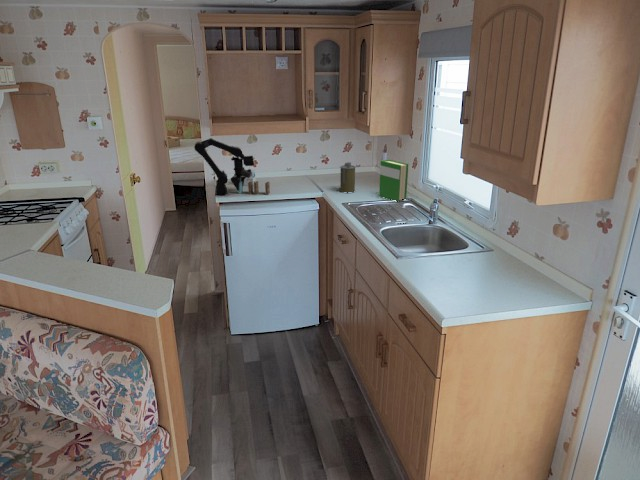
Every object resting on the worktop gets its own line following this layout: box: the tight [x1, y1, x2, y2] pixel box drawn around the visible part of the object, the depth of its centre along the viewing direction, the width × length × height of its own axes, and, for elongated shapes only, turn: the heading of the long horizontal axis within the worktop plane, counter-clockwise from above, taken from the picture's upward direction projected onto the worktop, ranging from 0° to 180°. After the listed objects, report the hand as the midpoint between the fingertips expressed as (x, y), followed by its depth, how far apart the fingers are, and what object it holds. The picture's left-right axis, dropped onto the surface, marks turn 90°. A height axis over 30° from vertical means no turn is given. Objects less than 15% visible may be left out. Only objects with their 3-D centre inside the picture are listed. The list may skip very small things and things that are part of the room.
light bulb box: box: [243, 169, 256, 187], centre depth 339 cm, size 11×7×11 cm, turn 84°
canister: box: [339, 161, 356, 193], centre depth 317 cm, size 11×10×20 cm
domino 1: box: [247, 181, 254, 195], centre depth 317 cm, size 2×5×8 cm, turn 171°
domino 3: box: [264, 181, 271, 196], centre depth 315 cm, size 2×5×8 cm, turn 171°
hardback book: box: [378, 159, 409, 202], centre depth 300 cm, size 18×7×24 cm, turn 36°
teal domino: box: [237, 181, 244, 195], centre depth 318 cm, size 2×5×8 cm, turn 171°
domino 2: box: [253, 181, 259, 195], centre depth 316 cm, size 2×5×8 cm, turn 171°
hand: (240, 188), depth 318 cm, fingers open, 9 cm apart
